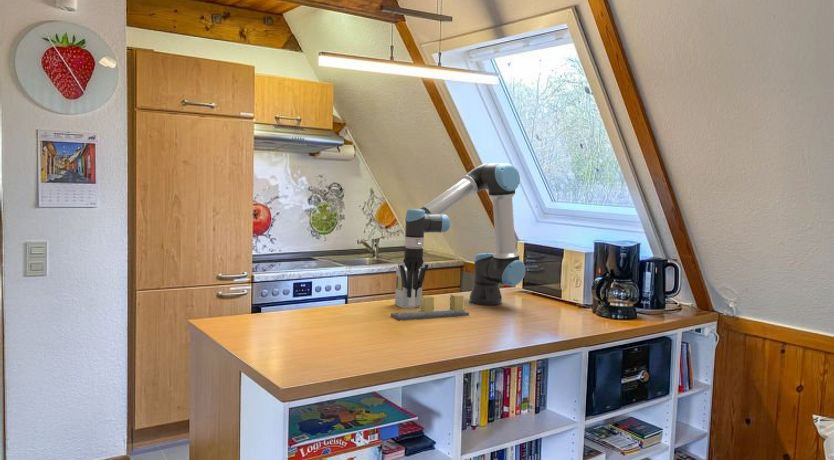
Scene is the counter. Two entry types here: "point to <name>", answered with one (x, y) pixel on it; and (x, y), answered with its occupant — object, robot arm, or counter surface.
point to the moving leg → (427, 303)
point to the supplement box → (405, 292)
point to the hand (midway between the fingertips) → (411, 305)
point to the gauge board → (436, 311)
